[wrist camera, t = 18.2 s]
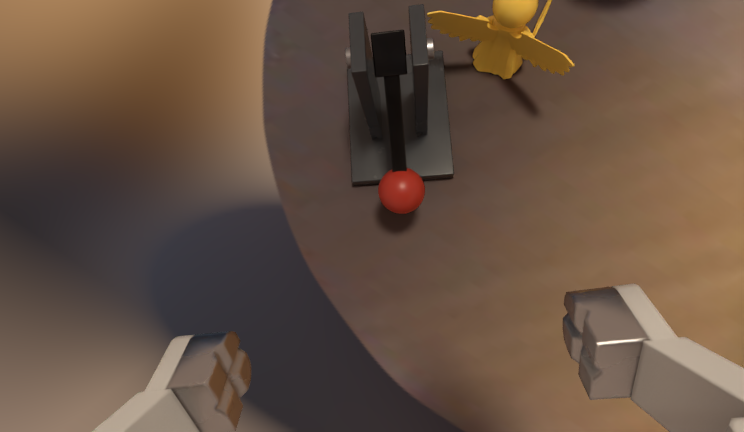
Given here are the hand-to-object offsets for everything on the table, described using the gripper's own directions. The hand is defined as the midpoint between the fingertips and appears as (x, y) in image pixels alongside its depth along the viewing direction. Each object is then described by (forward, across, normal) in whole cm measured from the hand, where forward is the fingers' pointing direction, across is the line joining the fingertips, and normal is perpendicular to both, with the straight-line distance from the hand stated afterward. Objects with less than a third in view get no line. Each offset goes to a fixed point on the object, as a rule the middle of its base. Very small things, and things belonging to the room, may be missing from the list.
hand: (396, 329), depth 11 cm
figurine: (+37, -12, +2) cm, 39 cm away
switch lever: (+25, 0, +4) cm, 25 cm away
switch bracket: (+32, 0, +6) cm, 32 cm away
